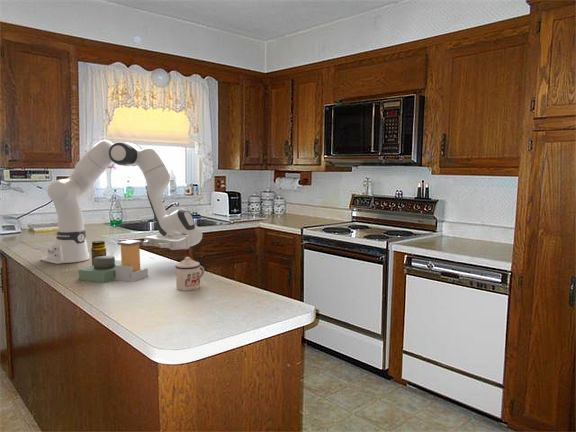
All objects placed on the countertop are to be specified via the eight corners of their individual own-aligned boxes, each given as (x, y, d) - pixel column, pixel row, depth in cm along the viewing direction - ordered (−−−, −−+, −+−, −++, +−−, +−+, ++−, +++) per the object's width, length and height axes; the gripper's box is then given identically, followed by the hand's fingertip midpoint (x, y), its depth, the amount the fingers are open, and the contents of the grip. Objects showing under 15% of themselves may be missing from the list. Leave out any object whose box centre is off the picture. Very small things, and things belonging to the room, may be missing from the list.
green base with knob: (78, 279, 179) (77, 259, 179) (114, 269, 197) (113, 251, 196) (121, 285, 170) (120, 264, 170) (155, 274, 188) (154, 255, 187)
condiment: (109, 268, 197) (108, 242, 196) (88, 271, 193) (87, 243, 191) (105, 265, 203) (104, 239, 202) (85, 268, 199) (84, 241, 197)
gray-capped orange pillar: (119, 276, 180) (117, 242, 178) (131, 272, 186) (130, 239, 184) (131, 278, 177) (129, 243, 175) (143, 274, 183) (141, 240, 181)
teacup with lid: (186, 292, 161) (185, 261, 160) (170, 288, 167) (169, 257, 165) (211, 285, 170) (211, 255, 169) (196, 281, 176) (195, 252, 174)
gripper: (157, 231, 207) (134, 235, 195) (191, 235, 197) (169, 239, 185) (157, 244, 208) (134, 249, 196) (192, 249, 198) (169, 254, 186)
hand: (151, 244), depth 191 cm, fingers open, 8 cm apart
